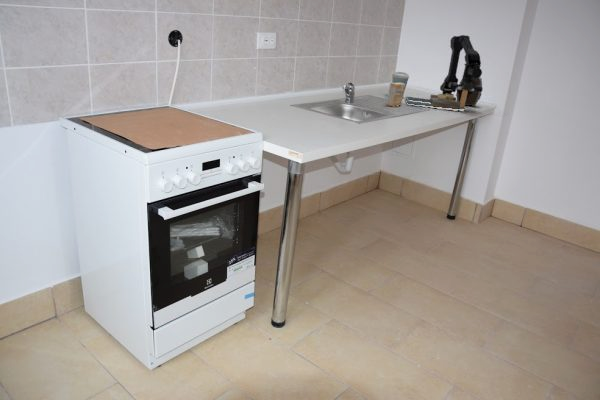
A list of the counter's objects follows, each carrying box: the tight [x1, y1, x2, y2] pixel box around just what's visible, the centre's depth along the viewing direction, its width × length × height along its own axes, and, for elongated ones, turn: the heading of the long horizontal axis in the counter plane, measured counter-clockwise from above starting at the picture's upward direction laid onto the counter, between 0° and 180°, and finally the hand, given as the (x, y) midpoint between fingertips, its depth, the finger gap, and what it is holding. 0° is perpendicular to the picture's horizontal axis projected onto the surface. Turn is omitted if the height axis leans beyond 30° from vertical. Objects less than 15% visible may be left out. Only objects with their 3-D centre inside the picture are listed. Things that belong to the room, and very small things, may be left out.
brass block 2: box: [445, 93, 455, 101], centre depth 297 cm, size 4×4×4 cm
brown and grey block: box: [459, 89, 468, 110], centre depth 295 cm, size 10×3×12 cm, turn 175°
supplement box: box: [386, 82, 406, 108], centre depth 285 cm, size 8×5×13 cm, turn 129°
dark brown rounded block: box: [455, 76, 483, 107], centre depth 308 cm, size 15×8×20 cm, turn 76°
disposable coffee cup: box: [391, 71, 410, 92], centre depth 310 cm, size 11×11×15 cm
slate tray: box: [404, 96, 434, 106], centre depth 298 cm, size 14×16×2 cm
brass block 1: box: [437, 93, 446, 100], centre depth 293 cm, size 4×4×4 cm
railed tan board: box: [429, 94, 460, 109], centre depth 297 cm, size 15×15×6 cm
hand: (462, 101), depth 295 cm, fingers closed on brown and grey block, 3 cm apart
